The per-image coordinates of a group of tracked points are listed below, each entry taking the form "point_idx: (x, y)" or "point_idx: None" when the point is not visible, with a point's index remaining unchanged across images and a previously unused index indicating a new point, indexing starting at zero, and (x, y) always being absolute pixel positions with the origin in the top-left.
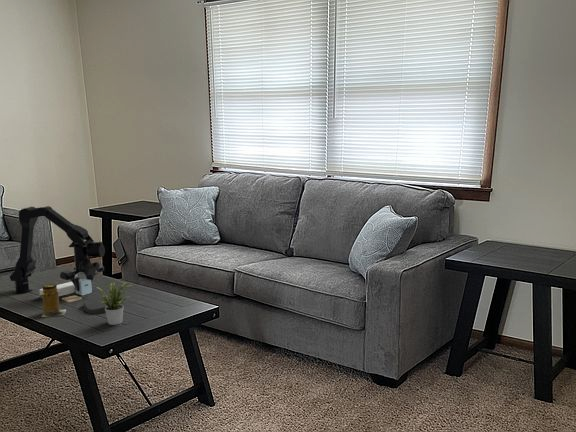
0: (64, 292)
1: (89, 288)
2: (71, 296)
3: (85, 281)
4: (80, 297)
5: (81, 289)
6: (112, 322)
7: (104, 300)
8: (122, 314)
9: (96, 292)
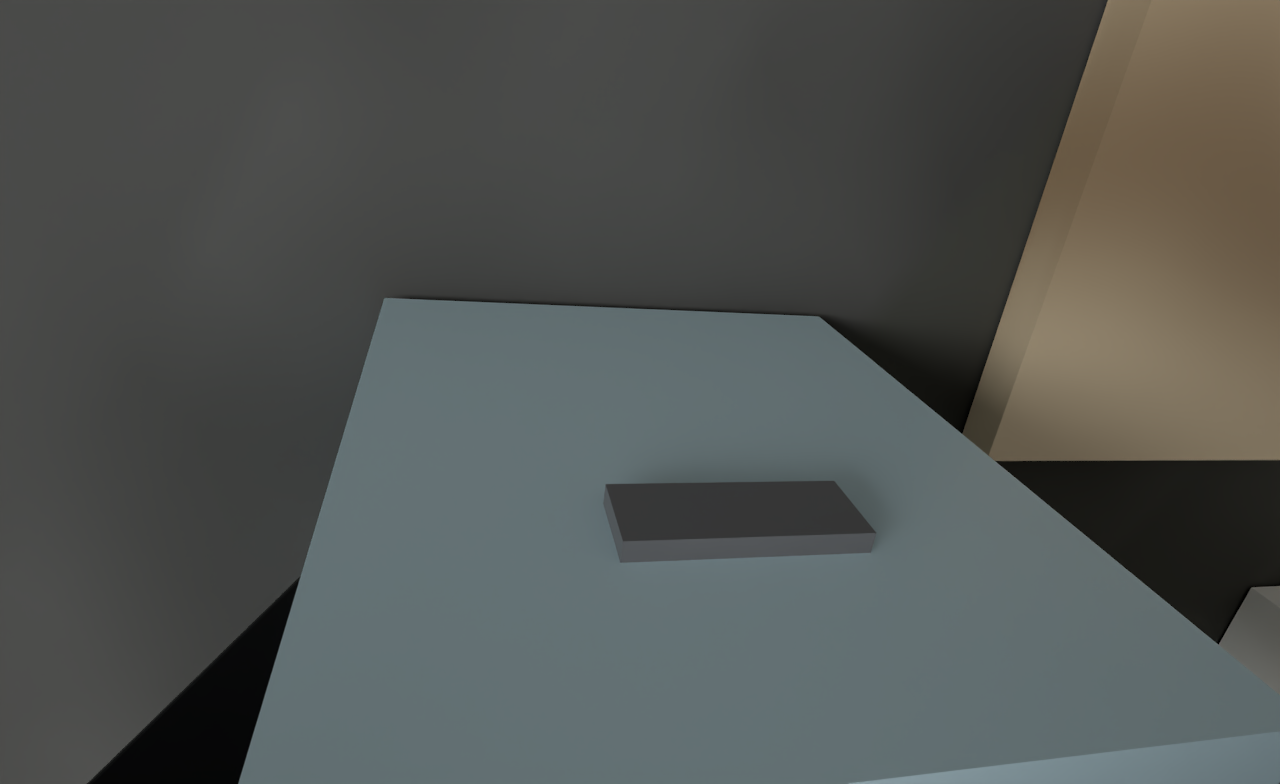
0: None
1: (504, 389)
2: (1126, 408)
3: (934, 766)
4: (1160, 20)
5: (950, 428)
6: None
7: None
8: None
9: (199, 200)
